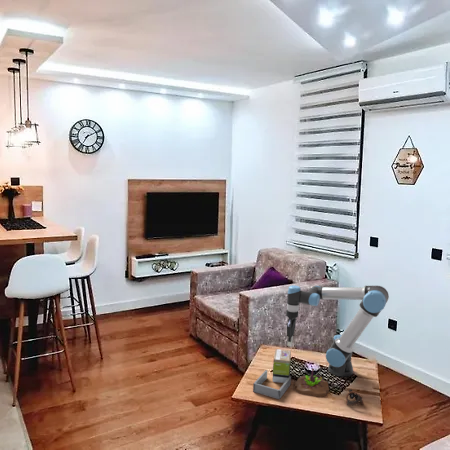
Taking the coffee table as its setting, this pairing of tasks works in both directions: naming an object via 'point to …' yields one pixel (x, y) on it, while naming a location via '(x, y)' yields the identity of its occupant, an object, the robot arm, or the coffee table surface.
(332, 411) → the coffee table surface
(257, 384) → the box
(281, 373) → the tea box
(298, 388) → the plant
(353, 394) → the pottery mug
